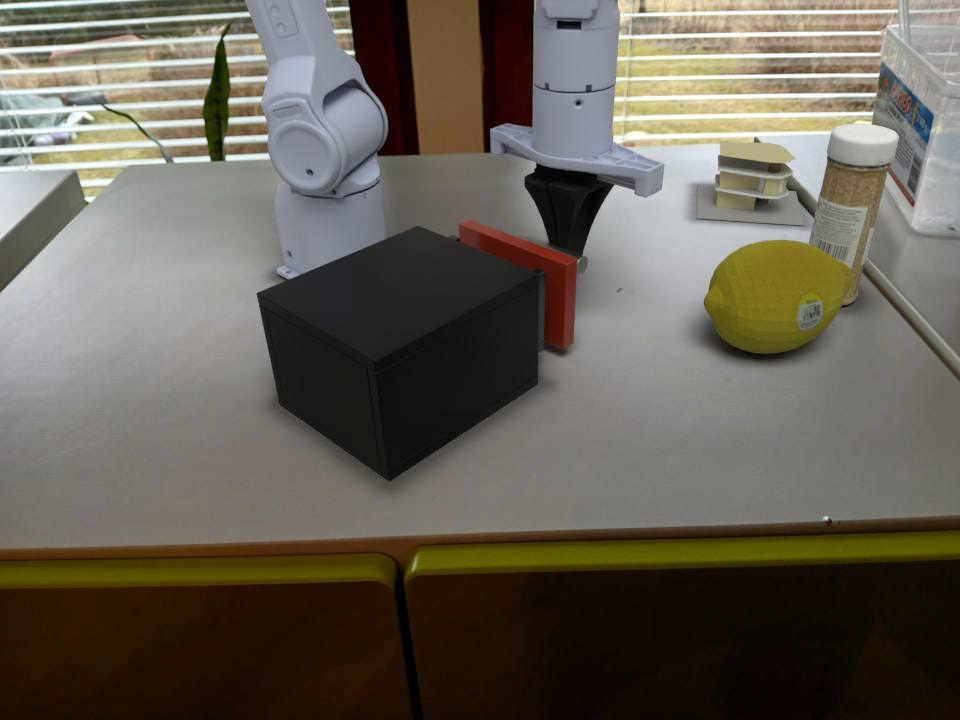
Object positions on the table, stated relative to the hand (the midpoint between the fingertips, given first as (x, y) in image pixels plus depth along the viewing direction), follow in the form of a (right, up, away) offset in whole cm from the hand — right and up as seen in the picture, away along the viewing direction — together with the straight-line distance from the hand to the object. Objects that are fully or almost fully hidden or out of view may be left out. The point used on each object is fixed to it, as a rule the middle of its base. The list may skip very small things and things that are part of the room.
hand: (567, 259), depth 62 cm
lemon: (+14, -7, -4) cm, 16 cm away
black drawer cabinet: (-12, -10, -8) cm, 17 cm away
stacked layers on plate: (+20, +8, +18) cm, 28 cm away
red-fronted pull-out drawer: (-7, -7, -4) cm, 10 cm away
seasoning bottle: (+21, -3, +2) cm, 22 cm away
